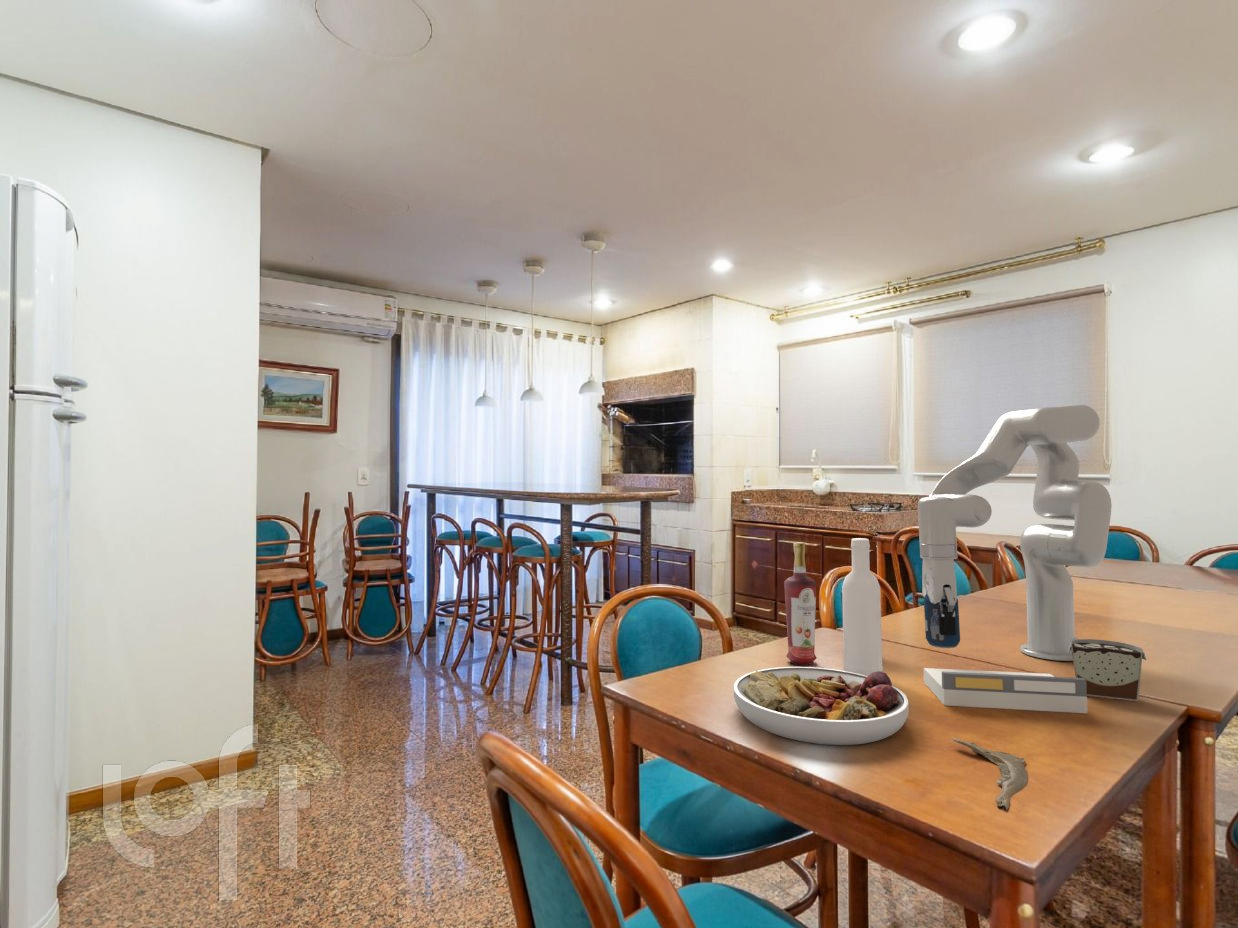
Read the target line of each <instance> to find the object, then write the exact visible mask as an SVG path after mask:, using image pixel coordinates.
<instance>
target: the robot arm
mask: <svg viewBox="0 0 1238 928" xmlns="http://www.w3.org/2000/svg"><path fill="white" fill-rule="evenodd" d="M1100 424H1101V423H1100V417H1099V414H1098V413H1097V412H1096V410H1095V409H1093V407H1092V406H1089V405H1086V404H1085V405H1084V404H1075V405H1067V406H1065V405H1064V406H1055V407H1054V406H1052V407H1051V406H1050V407H1037V408H1036V407H1035V408H1029V409H1028V408H1027V409H1021V410H1012V411H1009V412H1006V413H1004V414H1002V415H1001V416H1000V417H998V418H997V420H996V421H995V423H994V424H993V425H992V427H991V428H990V430H989V432H988V433H987V435H986V437H985V438H984V440H983V441H982V443H981V444H980V446H979V447H978V448H977V450H976V452H975V453H974V454H973V455H972V456H971V457H969V458H968V459H966V460H965V461H963V462H961V463H960V464H958V465H957V466H956V467H955V468H953V469H952V470H950V471H949V472H947V473H946V474H945V475H944V476H942V478H941V479H940V480H939V481H938V482H937V483H936V485H935V487H934V488H933V490H932V491H931V493H930V495H929V496H925V497H922V498H920V499H919V500H918V501H917V517H918V518H917V519H918V535H919V538H918V539H919V540H918V541H919V554H920V555H919V557H920V559H922V566H921V567H922V568H921V570H922V571H921V572H922V573H921V575H922V576H921V578H922V579H921V580H922V581H921V583H922V584H921V585H922V586H921V588H922V589H921V590H922V597H923V598H924V597H925V595H926V591H927V592H928V593H927V594H928V596H929V599H930V602H931V603H933V604H937V602H939V604H938V605H939V611H940V616H939V633H940V634H941V635H956V625H955V610H954V609H955V608H954V607H955V603H956V602H957V599H958V595H957V594H958V593H957V592H958V590H957V578H956V570H955V569H956V568H955V562H954V560H957V559H958V543H957V528H979V527H982V526H984V525H985V524H987V523H988V521H990V519H991V516H992V512H993V511H992V507H991V504H990V502H989V501H988V500H987V499H986V498H984V497H983V496H980V495H977V494H970V493H969V492H971V491H973V490H974V489H977V488H979V487H982V486H985V485H988V484H990V483H995V482H997V481H998V480H1002V479H1003V478H1005V477H1007V476H1009V475H1010V474H1011V473H1012V471H1013V469H1014V467H1016V465H1017V463H1018V461H1019V460H1020V458H1021V456H1022V455H1023V453H1024V452H1025V450H1026V449H1027V448H1028V447H1029V446H1030V447H1031V448H1032V451H1033V452H1034V454H1035V455H1036V456H1035V457H1036V459H1037V468H1036V469H1037V470H1036V477H1035V483H1034V484H1035V485H1034V492H1033V499H1032V500H1033V501H1032V505H1033V506H1032V507H1033V510H1034V513H1036V515H1037V516H1039V517H1041V518H1043V519H1050V520H1061V521H1074V523H1073V524H1074V525H1067V524H1066V525H1065V524H1052V523H1037V524H1031V525H1030V526H1027V527H1026V528H1025V529H1024V530H1023V531H1022V533H1021V534H1020V538H1019V547H1020V551H1021V555H1022V559H1023V563H1024V570H1025V583H1026V585H1025V587H1026V588H1025V591H1026V593H1025V594H1026V625H1027V626H1026V627H1027V629H1026V630H1027V643H1024V644H1021V645H1020V652H1022V653H1023V654H1025V655H1028V656H1029V657H1030V656H1031V657H1033V658H1038V659H1042V660H1043V659H1044V660H1051V661H1061V662H1062V661H1063V662H1073V656H1072V650H1071V651H1070V653H1068V649H1069V645H1070V644H1071V641H1073V640H1077V639H1080V638H1079V637H1076V636H1075V633H1076V631H1075V605H1074V604H1075V603H1074V601H1075V600H1074V599H1075V598H1074V584H1073V580H1072V576H1071V575H1070V573H1069V571H1068V570H1067V568H1066V566H1067V567H1077V568H1094V567H1097V566H1098V565H1100V564H1101V562H1103V561H1104V558H1105V555H1106V552H1107V548H1108V546H1107V545H1108V539H1109V533H1110V526H1111V525H1110V524H1111V518H1112V517H1111V516H1112V507H1113V506H1112V498H1111V495H1110V492H1109V491H1108V489H1107V488H1106V487H1105V486H1104V485H1103V484H1102V483H1101V482H1097V481H1093V480H1079V471H1080V461H1079V458H1078V456H1077V454H1076V453H1075V451H1074V449H1073V448H1072V447H1071V446H1070V445H1069V444H1068V443H1074V442H1084V441H1088V440H1090V439H1092V438H1093V437H1094V436H1095V435H1096V434H1097V432H1098V431H1099V429H1100ZM968 493H969V494H968ZM941 599H946V602H941ZM943 606H945V607H944V611H943Z"/></svg>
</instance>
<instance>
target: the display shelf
mask: <svg viewBox="0 0 1238 928" xmlns="http://www.w3.org/2000/svg"><path fill="white" fill-rule="evenodd" d="M923 683H924V684H925V685H926V687H927V688H929V690H930V691H931V692H932V693H933V695H934V696H935V697H936V698H937V699H938V700H939V701H940V703H941V704H943V706H946V707H947V706H951V707H952V706H953V707H965V708H966V707H967V708H968V707H969V708H983V709H985V708H986V709H1004V710H1018V711H1019V710H1020V711H1037V712H1038V711H1039V712H1057V713H1074V714H1075V713H1076V714H1088V696H1087V688H1086V680H1085V679H1084V678H1076V677H1069V676H1067V677H1066V676H1054V675H1053V674H1051V673H1041V672H1040V673H1039V672H1022V671H1021V672H1020V671H1019V672H1014V671H1000V670H999V671H996V670H993V671H992V670H977V669H976V670H975V669H974V670H973V669H970V670H969V669H957V668H956V669H955V668H954V669H950V668H933V667H932V668H931V667H923Z"/></svg>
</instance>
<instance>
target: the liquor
mask: <svg viewBox="0 0 1238 928" xmlns="http://www.w3.org/2000/svg"><path fill="white" fill-rule="evenodd" d="M793 553H794V563H793V574H792V576H789V577H788V578H786V579H785V580H784V581H783V587H784V600H785V601H784V603H785V614H786V615H785V617H786V629H787V630H786V631H787V654H786V658H787V659H788V660H789V661H790V662H791V663H793V664H795V665H799V666H810V665H811V664H813V663H814V662H815V661H816V659H817V655H816V653H815V646H816V645H815V637H816V636H815V632H816V631H815V630H816V610H817V609H816V606H817V603H816V602H817V582H816V581H815V580H814V579H813V578H811V577H809V576H807V569H806V568H807V567H806V560H805V559H806V557H805V554H806V543H805V542H793ZM809 664H810V665H809Z"/></svg>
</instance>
